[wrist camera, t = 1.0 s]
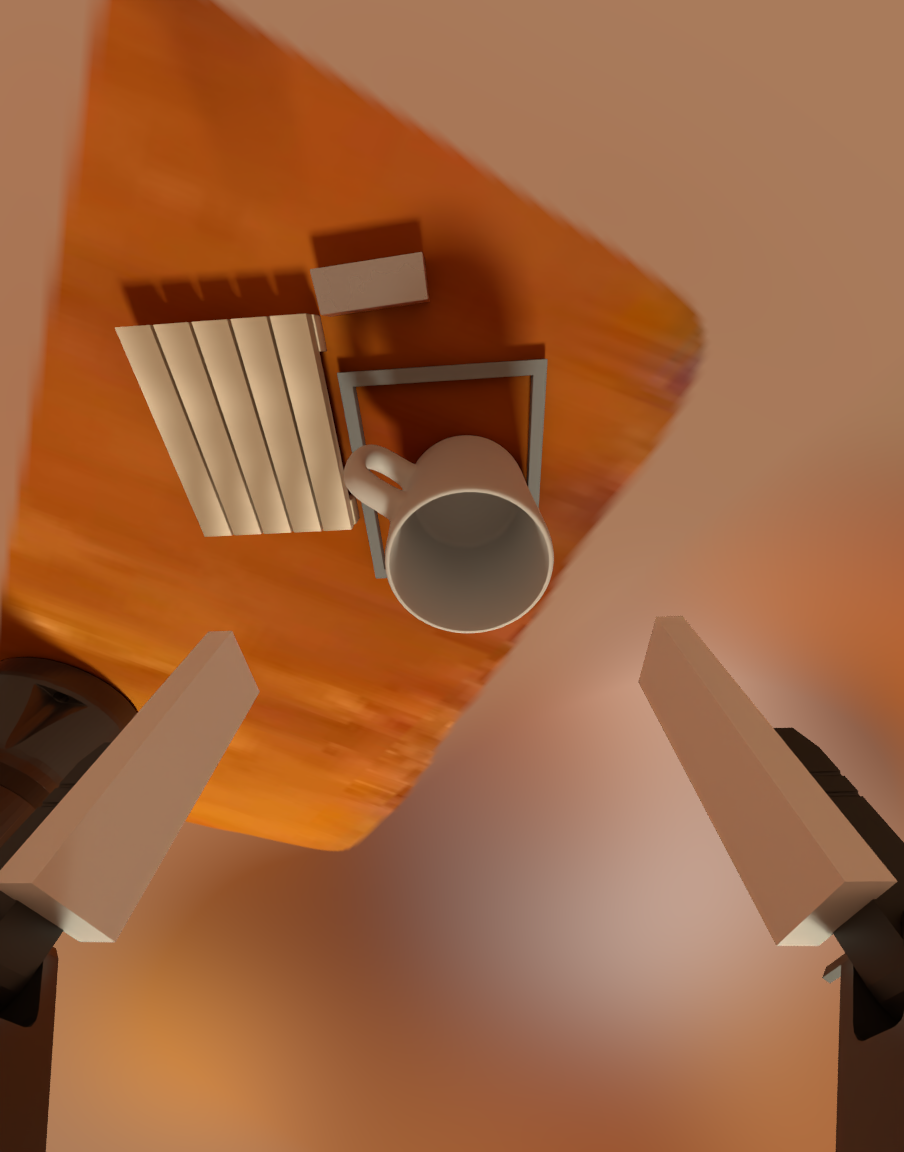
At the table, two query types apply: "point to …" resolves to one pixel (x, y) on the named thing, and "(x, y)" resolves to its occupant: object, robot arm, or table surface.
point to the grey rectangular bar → (371, 284)
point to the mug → (457, 532)
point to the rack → (246, 421)
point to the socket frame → (445, 373)
